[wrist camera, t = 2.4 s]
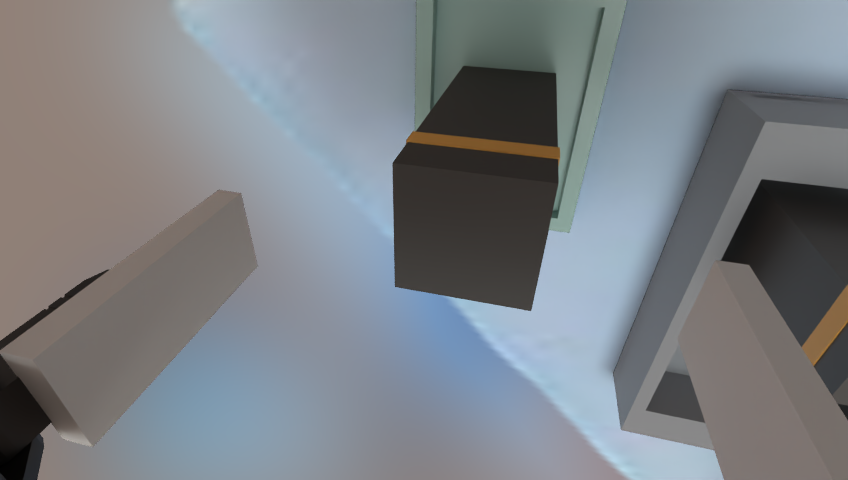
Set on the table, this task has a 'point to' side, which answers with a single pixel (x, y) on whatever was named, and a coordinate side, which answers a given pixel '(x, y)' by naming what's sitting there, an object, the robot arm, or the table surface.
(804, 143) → the socket strip
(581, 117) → the tray
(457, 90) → the plug
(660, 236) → the table surface
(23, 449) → the robot arm
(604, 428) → the table surface
